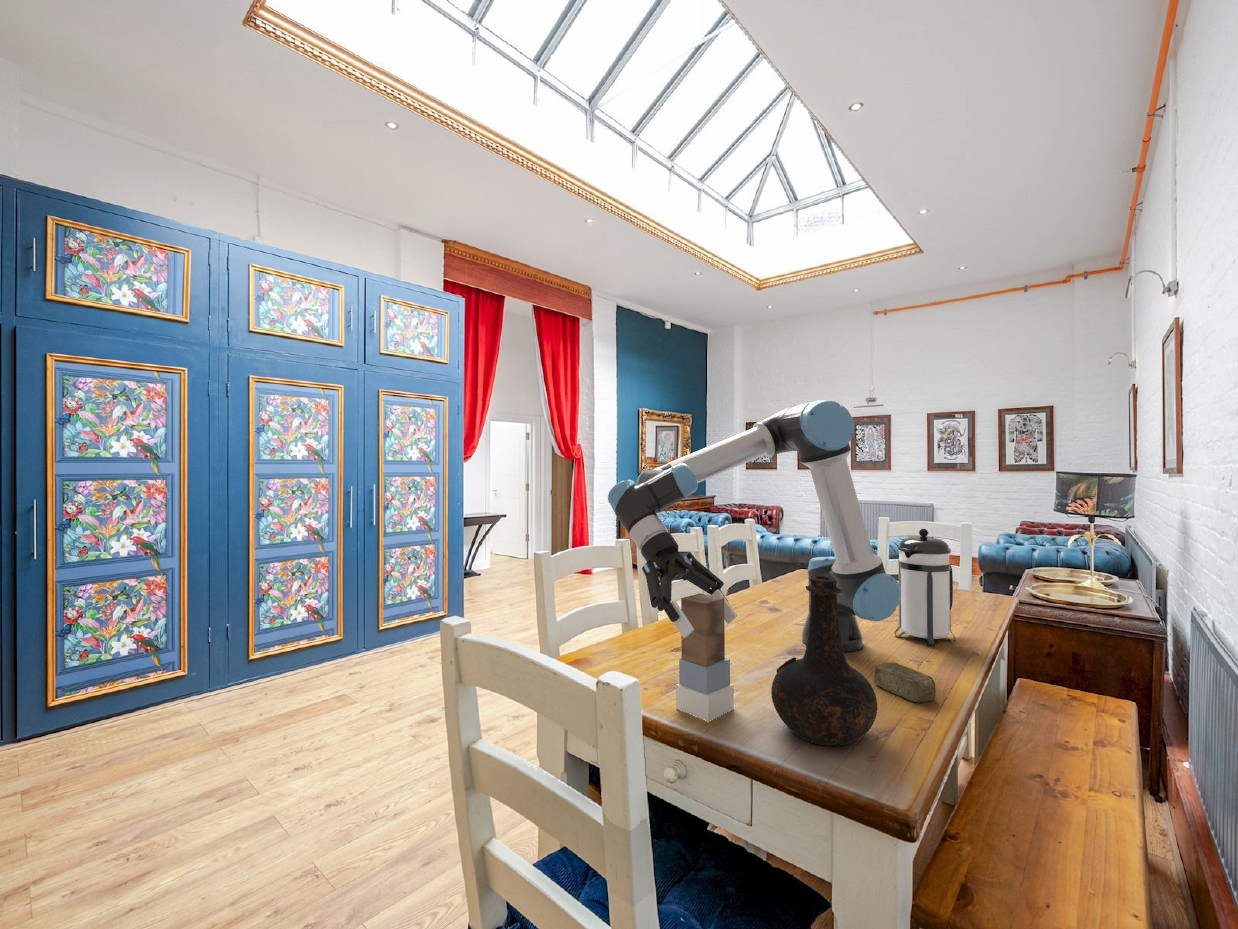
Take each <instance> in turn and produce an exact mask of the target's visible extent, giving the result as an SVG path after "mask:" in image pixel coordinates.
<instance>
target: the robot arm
mask: <svg viewBox="0 0 1238 929" xmlns="http://www.w3.org/2000/svg"><path fill="white" fill-rule="evenodd" d="M854 432H855V422H854V418H853V416H852V414H851V413H850V410H848V408H846V407H845V406H844V405H843V404H840V403H839V402H837V401H835V400H834V401H833V400H829V399H827V400H819V399H818V400H814V401H809V402H806V403H802V404H796V405H791V406H789V407H786V408H784V409H782V410H780V411H778V412H776V413H775V414H772V415H770V416H768V417H766V418H764V419H762V420H760V421H757V422H755V423H754V424H753V425H752V428H750V429H747V430H744V431H743V432H741V433H739V434H736V435H734V436H731V437H729V438H726V439H723V440H721V441H719V442H717V443H714V444H712V445H709V446H706V447H704V448H702V449H699V450H697V451H694V452H692V453H689V454H687V455H685V456H682V457H679V458H677V459H675V460H672V461H669V462H668V463H665V464H662V465H660V466H657V467H655V468H649V469H647V470H644V471H642V472H641V473H640V474H639V475H638V476H637V478H636V482H635V481H634V480H632V479H626V480H621V481H619V482H618V483H616V484H615V485H614V486H612V487H611V489H610V490H609V492H608V494H607V502H608V503H609V505H610V507H611V508H612V510H613V512H614V514H615V516H616V517H617V518H618V520H619V522H620V523H621V525H622V526H623V527H624V529H625V530H626V532H627V533H628V535H629V536H630V538H631V539H632V541H633V543H634V545H635V546H636V547H637V549H638V550H639V551H640V553H641V555H642V557H643V558H644V560H645V561H646V562H645V564H643V566H642V567H641V570H642V572H643V574H644V576H645V580H646V585H647V590H648V595H649V600H650V605H651V606H650V607H652V608H654V609H657V611H659V612H663V611H664V613H665V614H666V615H667V617H668V619H669V620H670V621H671V622H672V623H673V625H675V628H676V629H677V630H678V632H679V633H680V634H681V635H682V637H683V638H687V637H688V636H689V635H690V634H691V633H692V632H693V631H694V628H693V627H692V625H691V624H690V622H689V621H688V619H687V618H686V616H685V615H684V613H683V612H682V610H681V606H680V605H679V604H678V603H677V601H676V600H673V601H672V587H673V586H672V583H673V581H675V580H682V581H688V582H690V583H691V584H693V585H694V586H696V587H698V588H699V589H701V590H702V591H704V592H706V593H707V594H708V595H711V596H716V597H721V598H724V622H726V624H731V623H732V621H734V620H735V619H736V618H737V617H738V613H736V611H735V609H733V607H732V606H731V604H730V602H729V600H728V599H727V597H726V596H725V595H724V593H723V591H722V590H721V589H722V588H723V586H724V584H725V583H724V581H722V580H721V579H720V578H719V577H718V576H716V575H715V574H714V573H713V572H712V571H711V570H709V568H707V567H706V566H705V565H703V564H702V563H701V562H700V561H699V560H697V559H696V557H695V556H694V554H693V553H691V552H688V553H687V554H686V555H684V556H683V555H682V554H681V553H679V543H678V542H677V541H676V540H675V538H674V536H673V535H672V534H671V532H669V529H668V527H666V525H665V523H664V522H663V521H662V519H661V517H660V516H659V515H658V513H660V512H662V511H663V510H665V509H667V508H669V507H671V506H672V505H675V504H676V503H678V502H680V501H682V500H684V499H686V498H688V497H690V496H691V495H693V493H695V492H697V490H698V487H699V485H698V484H699V483H702V482H704V481H707V480H708V479H711V478H714V477H715V476H718V475H720V474H723V473H725V472H727V471H730V470H733V469H735V468H737V467H740V466H742V465H745V464H747V463H749V462H752V461H754V460H756V459H758V458H761V457H763V456H764V457H767V458H772V457H773V456H774V457H775V456H776V455H780V454H783V453H790V452H791V453H792V452H798V456H799V460H800V463H801V464H802V465H804V466H806V467H807V468H809V470H810V474H811V477H812V482H813V485H814V488H815V492H816V496H817V498H818V502H819V505H820V508H821V513H822V516H823V519H824V522H825V523H824V524H825V526H826V531H827V534H828V537H829V540H830V543H831V544H830V545H831V547H832V551H833V554H834V556H816V557H812V558H810V559H809V562H808V567H807V574H808V575H807V576H808V585H811V582H810V577H814V576H825V577H830V578H833V579H835V580H837V584H836V587H837V588H840V589H842V592H841V593H839V594H837V608H838V620H839V629H840V637H841V642H842V648H843V652H844V653H845V652H853V651H859V650H860V649H863V646H864V644H863V643H864V642H863V640H864V639H863V635H862V632H861V629H860V627H859V623H858V621H857V618H856V617H858V618H859V619H862V620H868V621H870V622H879V621H880V622H881V621H884V620H886V619H888V618H890V617H891V616H892V615H893V614H894V613H895V612H896V610H897V607H899V602H900V598H901V590H900V586H899V581H897V579H896V578H895V577H893V576H892V575H890V574H889V573H886V570H885V566H884V562H883V559H882V557H881V556H879V555H877V554H875V553H874V551H873V549H872V546H871V545H872V544H871V542H870V538H869V534H868V531H867V527H866V523H865V520H864V517H863V513H862V509H861V507H860V506H861V505H860V503H859V499H858V495H857V491H856V489H855V486H854V485H855V484H854V481H853V478H852V473H851V470H850V467H849V464H848V460H847V459H848V456H849V455H850V453H851V451H852V448H851V445H850V442H851V441H852V439H853V435H854ZM810 604H811V592H810V591H808V613H807V616H806V618H805V619H806V620H805V622H804V625H803V628H802V633H801V635H802V636H801V637H802V638H801V639H802V642H803V643H804V644H805V645H807V640H808V632H809V621H810Z"/></svg>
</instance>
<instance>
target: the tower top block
mask: <svg viewBox="0 0 1238 929" xmlns="http://www.w3.org/2000/svg"><path fill="white" fill-rule="evenodd" d="M678 661H679V662H678V669H679V670H678V671H679V675H678V676H679V677H678V681H679V684H681V685H683V686H686V687H688V688H691V689H693V690H696V691H698V692H701V693H703V694H706V695H708V694H710V693H712V692H715V691H717V690H720V689H722V688H724V687H727V686H729V685H730V684H731V660H730V659H729V658H726V657H725V659H724V660H722V661H719V662H717V663H714V664H712V665H710V666H707V667H705V666H701V665H698V664H695V663H692V662H689V661H685V660H682V657H681V658H679V659H678Z"/></svg>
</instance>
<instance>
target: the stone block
mask: <svg viewBox="0 0 1238 929" xmlns="http://www.w3.org/2000/svg"><path fill="white" fill-rule="evenodd" d="M873 681H874V684H876V685H877V687H880V688H881V689H883V690H885V691H887V692H890V693H892V694H894V695H896V696H899V697H900V698H903V699H906V700H907V701H910V702H913V703H917V704H918V703H919V704H921V703H925V702H931V701H933V700H935V699H936V696H937V695H936V693H937V690H936V682H935V681H934V679H933V677H931V676H930V675H928V674H926V673H922V672H920V671H917V670H915V669H912V668H910V667H908V666H904V665H901V664H899V663H897V662H891V661H890V662H883V663H879V664H875V668H874V676H873Z"/></svg>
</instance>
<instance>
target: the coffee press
mask: <svg viewBox="0 0 1238 929" xmlns="http://www.w3.org/2000/svg"><path fill="white" fill-rule="evenodd" d="M918 534H919V536H915V537H914V536H913V537H906V538H903V539H902V540H901V541H900V542H899V545H897V550H898V553H899V556H898V561H897V562H898V571H897V572H898V584H899V586H900V590H901V598H900V602H899V605H898V626H897V628H896V629H895V630H894V632H893V635H895V637H896V638H901V637H903V635H905V634H906V635H909V636H912V637H915V638H920V639H925V641H926V644H927V647H935V640H938V639H944V638H947V639H948V640H950V641H951V642H954V641H956V636H955V635H954V634H953V632H952V628H951V626H952V624H951V623H952V622H951V610H952V607H953V601H954V598H953V597H954V588H953V587H954V583H953V582H954V579H953V568H952V565H951V563H950V555H951V552H952V549H951V548H950V546H949V544H948V543H947V542H946V541H945V540H942V539H939V538H934V537H927V536H928V535H929V531H928V529H927V528H921V529H919V531H918ZM899 630H901V631H902V632H901V633H900V634H898V635H897V633H898V632H899ZM949 634H951V635H952V636H953V638H950V637H948V636H949Z"/></svg>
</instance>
